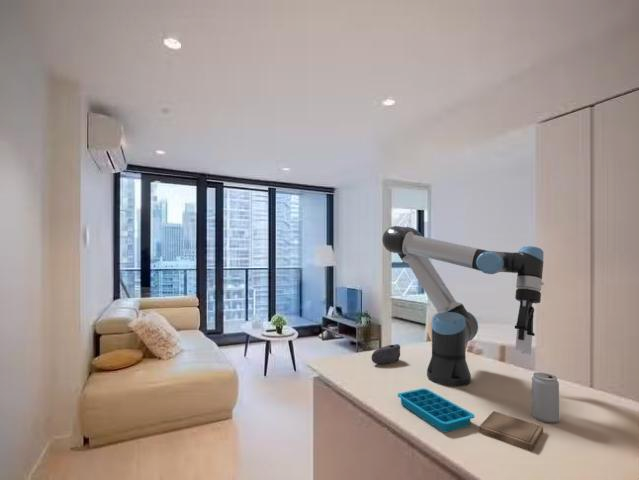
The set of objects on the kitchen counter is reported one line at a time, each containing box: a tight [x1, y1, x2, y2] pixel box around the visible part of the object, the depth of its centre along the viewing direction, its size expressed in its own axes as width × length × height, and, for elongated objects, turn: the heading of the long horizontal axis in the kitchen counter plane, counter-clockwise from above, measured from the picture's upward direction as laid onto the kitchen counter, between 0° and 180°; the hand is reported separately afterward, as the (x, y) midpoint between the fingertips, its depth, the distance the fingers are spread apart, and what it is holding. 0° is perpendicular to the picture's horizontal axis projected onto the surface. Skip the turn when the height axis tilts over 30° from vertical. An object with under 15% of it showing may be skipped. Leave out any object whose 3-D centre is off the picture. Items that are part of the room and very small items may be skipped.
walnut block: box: [478, 410, 544, 452], centre depth 89 cm, size 12×12×2 cm
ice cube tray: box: [397, 388, 475, 433], centre depth 99 cm, size 12×20×3 cm, turn 24°
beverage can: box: [531, 372, 560, 424], centre depth 96 cm, size 6×6×12 cm
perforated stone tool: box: [371, 343, 401, 365], centre depth 143 cm, size 15×5×7 cm, turn 116°
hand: (523, 352), depth 114 cm, fingers open, 13 cm apart
